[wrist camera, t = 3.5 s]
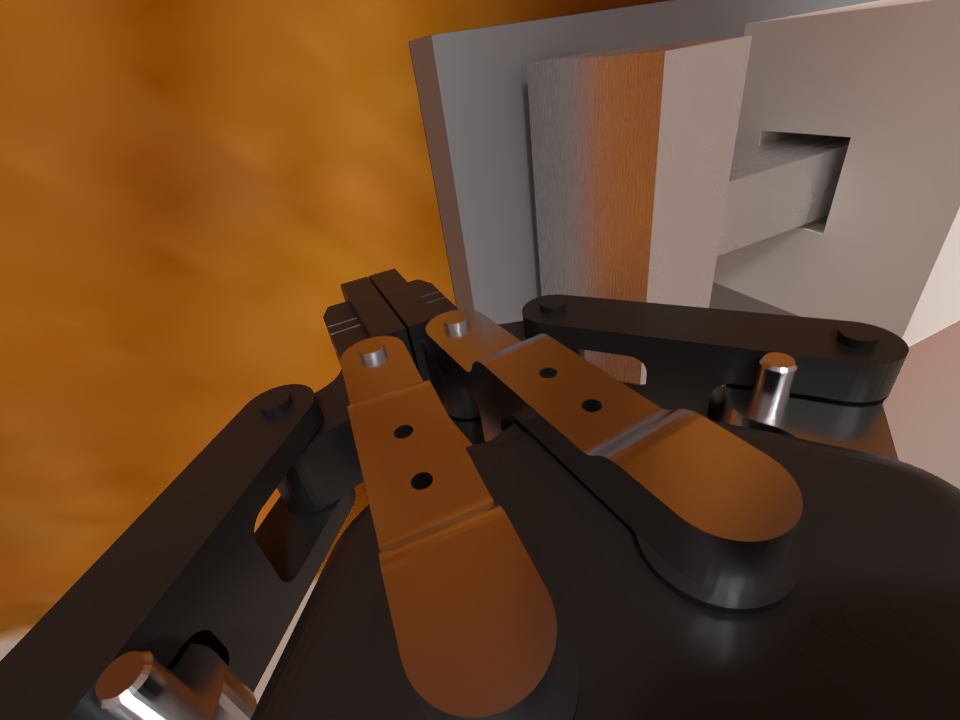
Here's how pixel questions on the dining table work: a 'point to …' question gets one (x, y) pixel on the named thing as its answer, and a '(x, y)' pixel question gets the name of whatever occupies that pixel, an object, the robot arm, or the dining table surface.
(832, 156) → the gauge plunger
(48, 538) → the dining table surface
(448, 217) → the stand
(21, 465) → the dining table surface
